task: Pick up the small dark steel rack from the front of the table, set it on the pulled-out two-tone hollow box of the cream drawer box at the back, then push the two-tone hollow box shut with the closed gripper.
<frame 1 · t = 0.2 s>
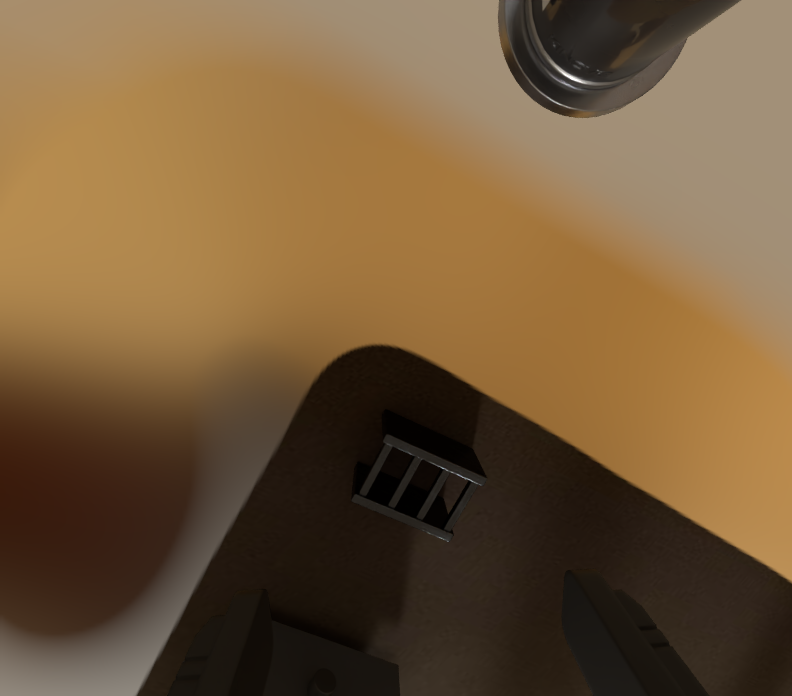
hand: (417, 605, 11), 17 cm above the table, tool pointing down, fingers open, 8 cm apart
rack: (413, 458, 29), on the table
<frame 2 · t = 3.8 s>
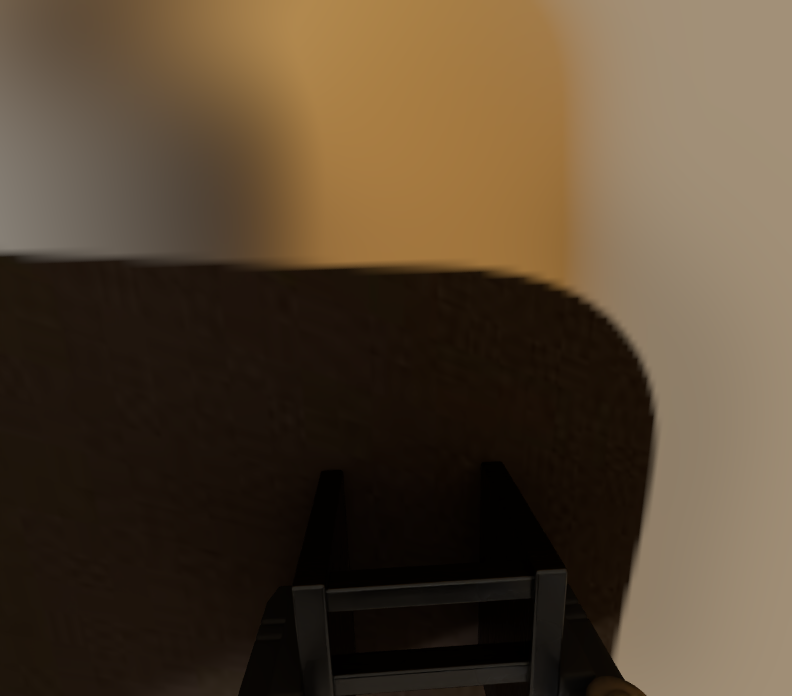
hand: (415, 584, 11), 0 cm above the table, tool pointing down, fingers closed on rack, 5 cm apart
rack: (415, 572, 12), on the table, touching gripper
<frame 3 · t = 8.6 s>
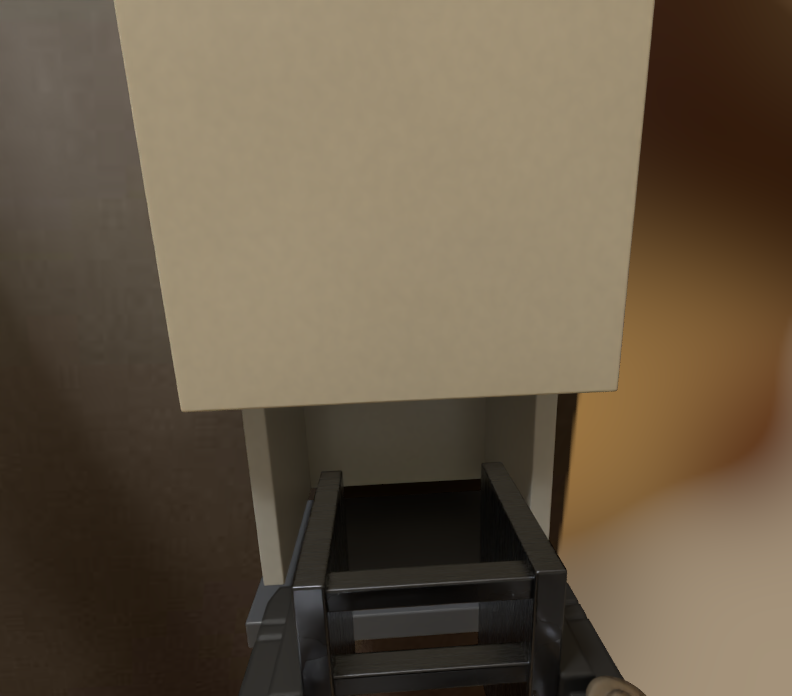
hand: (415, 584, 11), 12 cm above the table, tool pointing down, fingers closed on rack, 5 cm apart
cream drawer box: (384, 143, 20), on the table
two-tone hollow box: (397, 395, 18), point 5 cm above the table, slide at 9.0 cm
rack: (414, 573, 12), point 12 cm above the table, touching gripper
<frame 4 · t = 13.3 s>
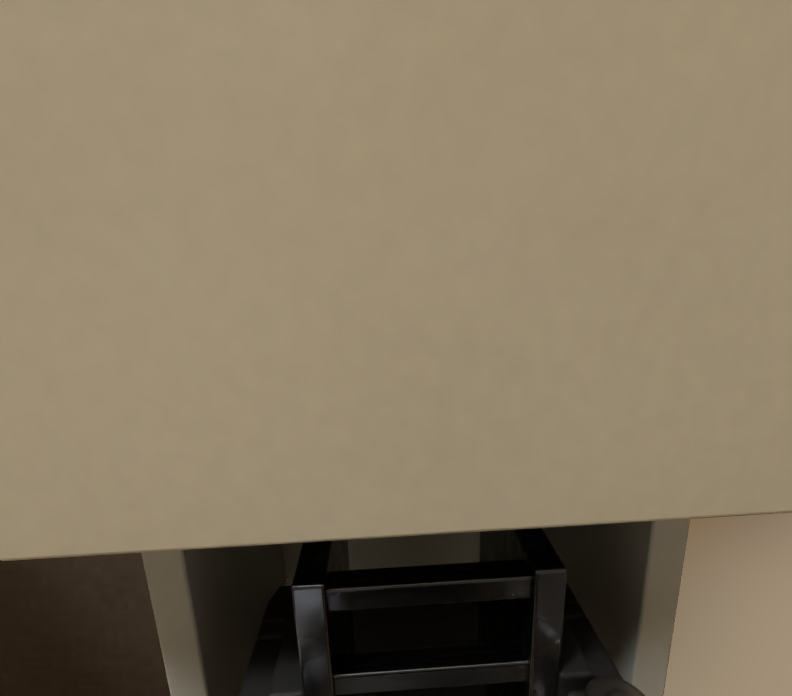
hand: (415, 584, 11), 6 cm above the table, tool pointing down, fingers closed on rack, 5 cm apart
cream drawer box: (389, 94, 14), on the table
two-tone hollow box: (409, 466, 12), point 5 cm above the table, slide at 9.0 cm, touching gripper
rack: (414, 572, 12), point 5 cm above the table, touching gripper
when the fingers open (8 cm above the table, at t = 21.7 s): rack drops 5 cm, resting on two-tone hollow box.
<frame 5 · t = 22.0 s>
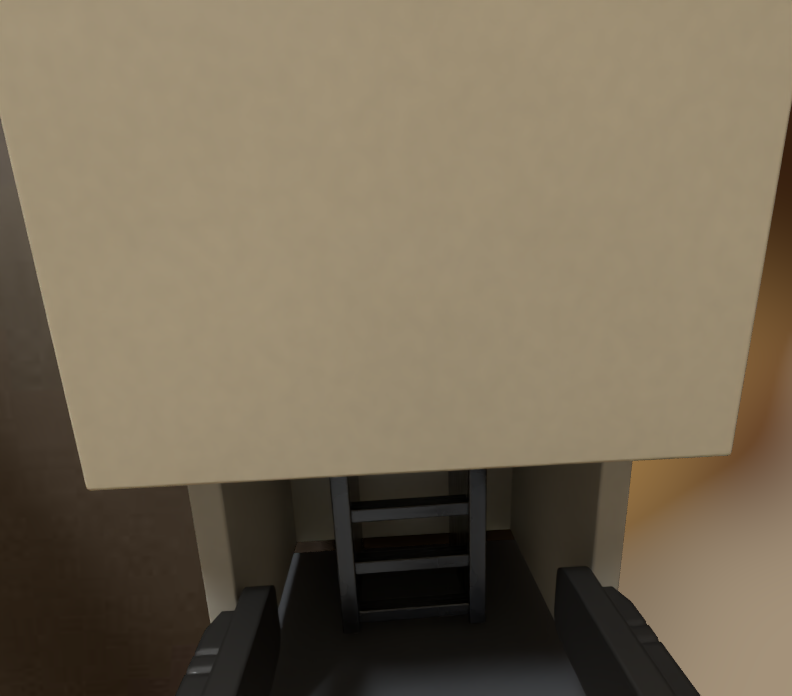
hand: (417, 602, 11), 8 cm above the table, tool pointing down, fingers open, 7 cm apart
cream drawer box: (388, 114, 16), on the table
two-tone hollow box: (405, 436, 14), point 5 cm above the table, slide at 9.0 cm, touching rack
rack: (403, 476, 17), point 2 cm above the table, touching two-tone hollow box
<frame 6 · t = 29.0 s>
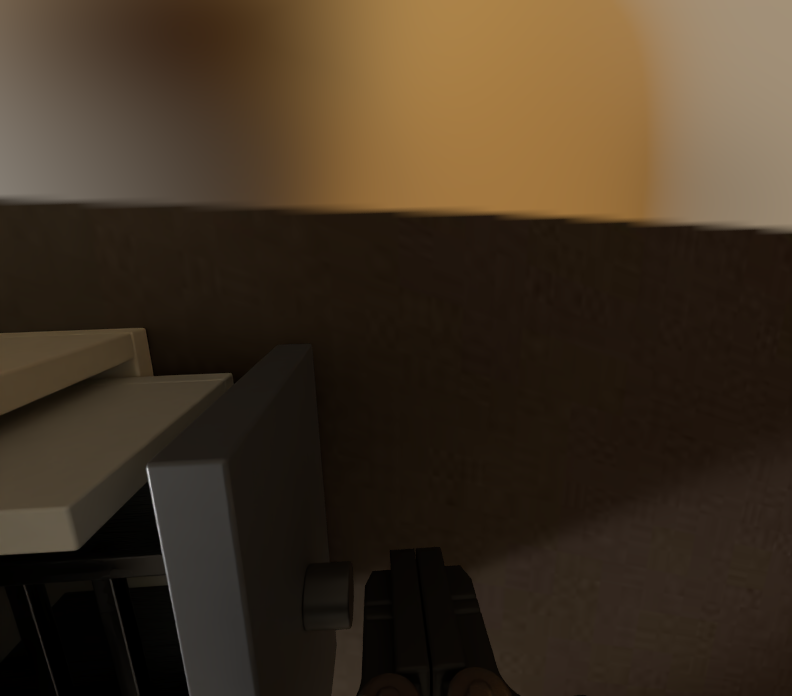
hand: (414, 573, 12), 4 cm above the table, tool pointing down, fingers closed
rack: (157, 537, 14), point 2 cm above the table, touching two-tone hollow box
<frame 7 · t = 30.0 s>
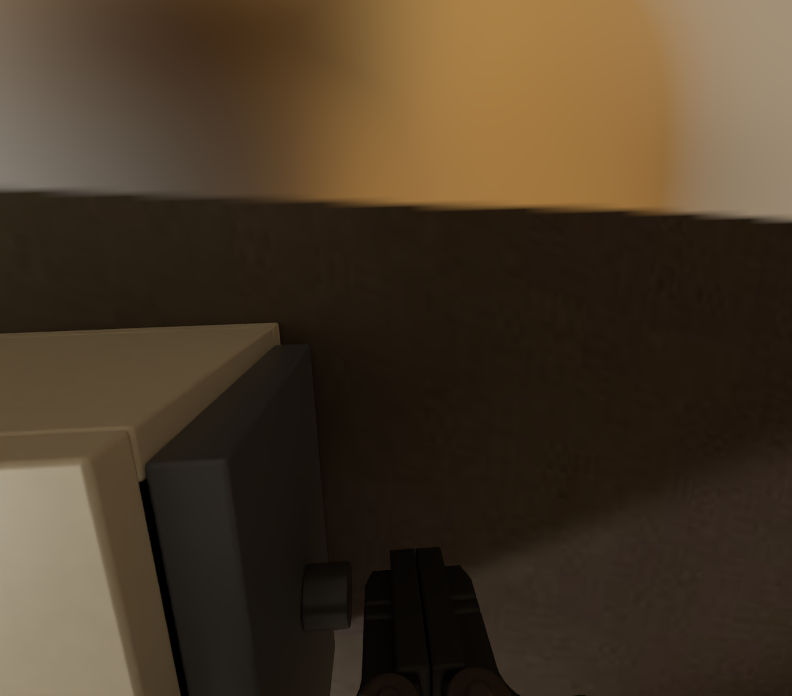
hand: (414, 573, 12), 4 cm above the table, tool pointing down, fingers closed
cream drawer box: (35, 510, 15), on the table
rack: (155, 538, 14), point 2 cm above the table, touching two-tone hollow box
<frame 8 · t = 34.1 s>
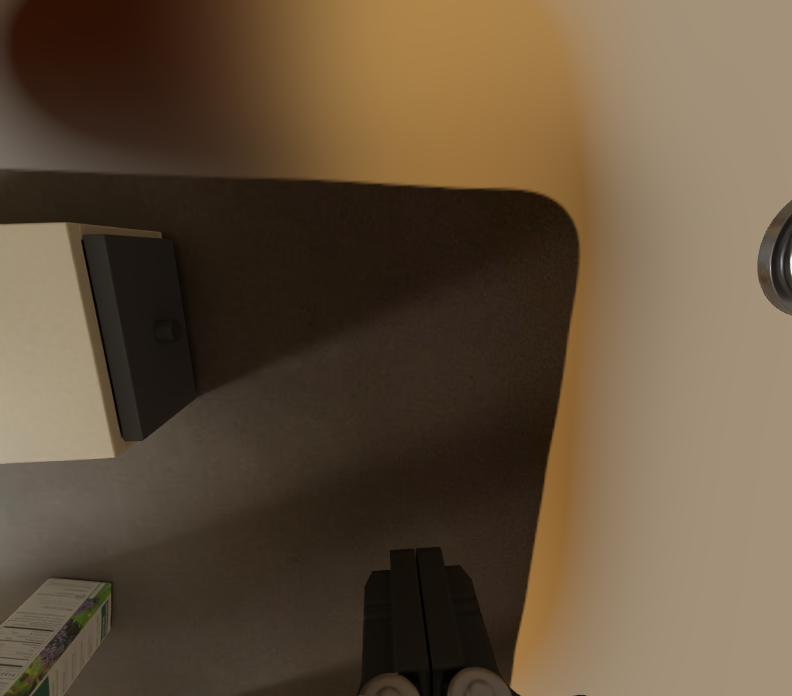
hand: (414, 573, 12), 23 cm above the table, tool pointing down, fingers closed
cream drawer box: (49, 325, 32), on the table
two-tone hollow box: (28, 336, 27), point 5 cm above the table, slide at 0.0 cm, touching rack
syrup box: (82, 601, 38), on the table
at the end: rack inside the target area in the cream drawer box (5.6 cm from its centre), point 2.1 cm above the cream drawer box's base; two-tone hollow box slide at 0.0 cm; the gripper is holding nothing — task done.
